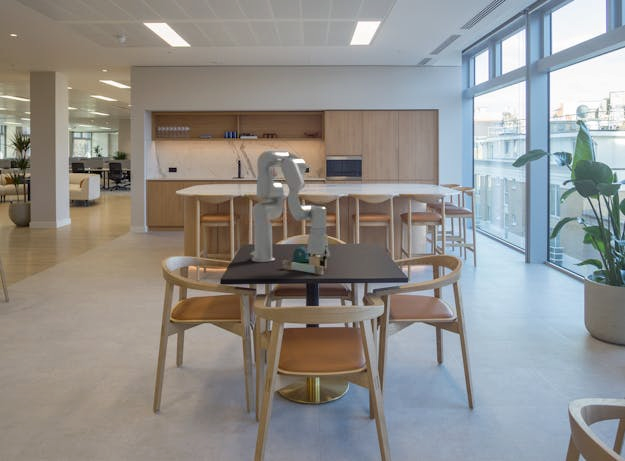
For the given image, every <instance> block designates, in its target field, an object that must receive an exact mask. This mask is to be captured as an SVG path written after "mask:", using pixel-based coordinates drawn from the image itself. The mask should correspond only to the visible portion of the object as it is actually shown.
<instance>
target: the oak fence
mask: <svg viewBox="0 0 625 461" xmlns="http://www.w3.org/2000/svg"><path fill="white" fill-rule="evenodd" d="M291 262H292V260H282V269H283V270H286V271H287V270H292V269H291ZM324 271H325V270H324V266H319V265H315V273H314V275H317V276H318V275H319V276H323V275H324Z"/></svg>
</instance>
